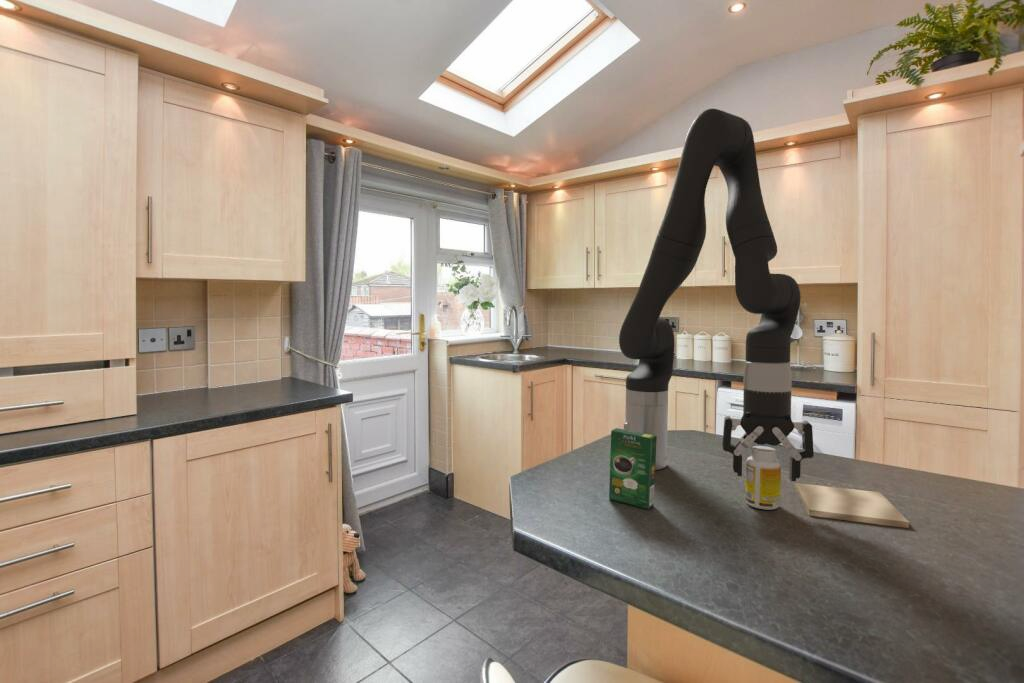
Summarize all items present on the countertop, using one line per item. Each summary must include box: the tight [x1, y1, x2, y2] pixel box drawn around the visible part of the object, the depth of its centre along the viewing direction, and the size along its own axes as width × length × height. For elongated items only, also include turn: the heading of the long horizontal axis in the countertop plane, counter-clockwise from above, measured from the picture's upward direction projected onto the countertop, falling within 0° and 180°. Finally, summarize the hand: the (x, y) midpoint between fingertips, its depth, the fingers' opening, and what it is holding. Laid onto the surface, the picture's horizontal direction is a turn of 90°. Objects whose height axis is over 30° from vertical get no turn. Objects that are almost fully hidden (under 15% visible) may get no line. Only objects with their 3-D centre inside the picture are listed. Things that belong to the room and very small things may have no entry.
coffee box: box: [608, 427, 657, 510], centre depth 90 cm, size 8×3×13 cm, turn 52°
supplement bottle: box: [744, 445, 782, 511], centre depth 89 cm, size 6×6×10 cm
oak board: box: [794, 482, 910, 529], centre depth 89 cm, size 14×14×1 cm
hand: (765, 477), depth 89 cm, fingers open, 8 cm apart
